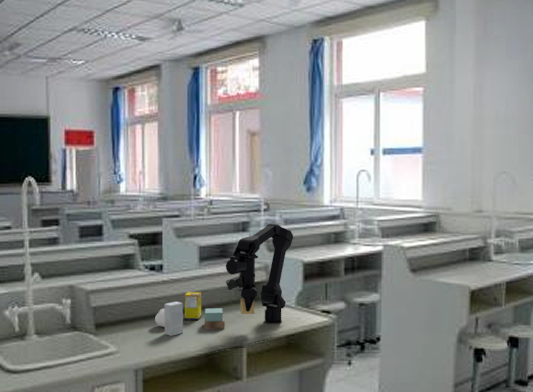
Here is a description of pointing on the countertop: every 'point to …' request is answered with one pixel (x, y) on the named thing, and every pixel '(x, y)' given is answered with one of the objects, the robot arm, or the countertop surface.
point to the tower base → (215, 324)
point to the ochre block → (243, 307)
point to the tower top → (213, 314)
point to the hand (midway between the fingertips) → (247, 309)
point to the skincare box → (173, 318)
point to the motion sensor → (160, 318)
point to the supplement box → (192, 305)
